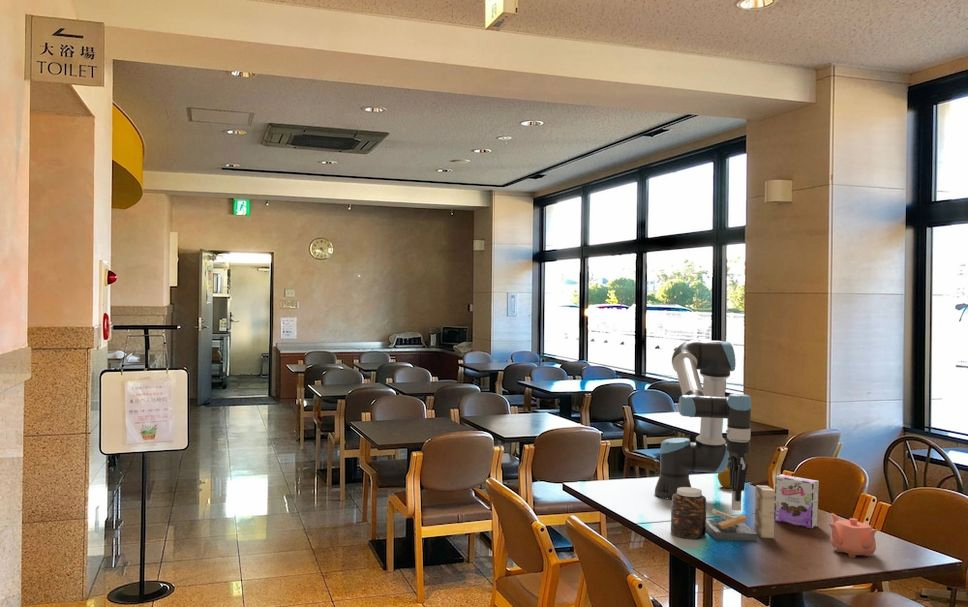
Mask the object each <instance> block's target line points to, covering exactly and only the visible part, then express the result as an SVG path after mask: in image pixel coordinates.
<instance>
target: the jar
mask: <svg viewBox="0 0 968 607" xmlns="http://www.w3.org/2000/svg"><path fill="white" fill-rule="evenodd" d="M691 487H692V486H691ZM691 487H680V488H678V489H677V493H675V494H673V496H672V500H671V508H670V509H671V510H670V533H671V535H672V536H674V537H677V538H681V539H687V540H699V539H704V538H706V534H707V531H706V520H707V498H706V496H704V495H703V493H702V492H703V490H702V489H700V488H696V487H692V488H691Z"/></svg>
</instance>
